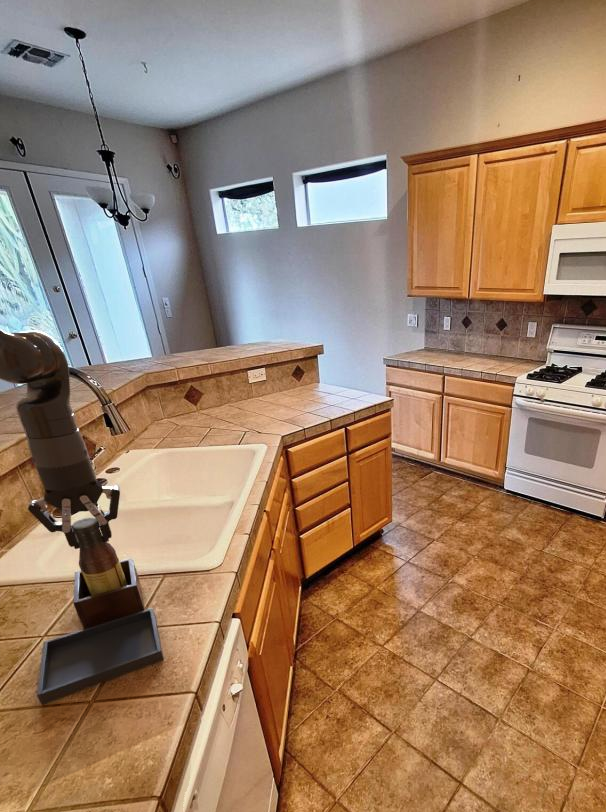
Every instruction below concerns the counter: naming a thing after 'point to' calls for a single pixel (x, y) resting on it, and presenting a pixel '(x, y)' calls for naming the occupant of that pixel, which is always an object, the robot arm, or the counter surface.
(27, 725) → the counter surface
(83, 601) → the caddy
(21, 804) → the counter surface
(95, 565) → the sauce bottle
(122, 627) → the tray
